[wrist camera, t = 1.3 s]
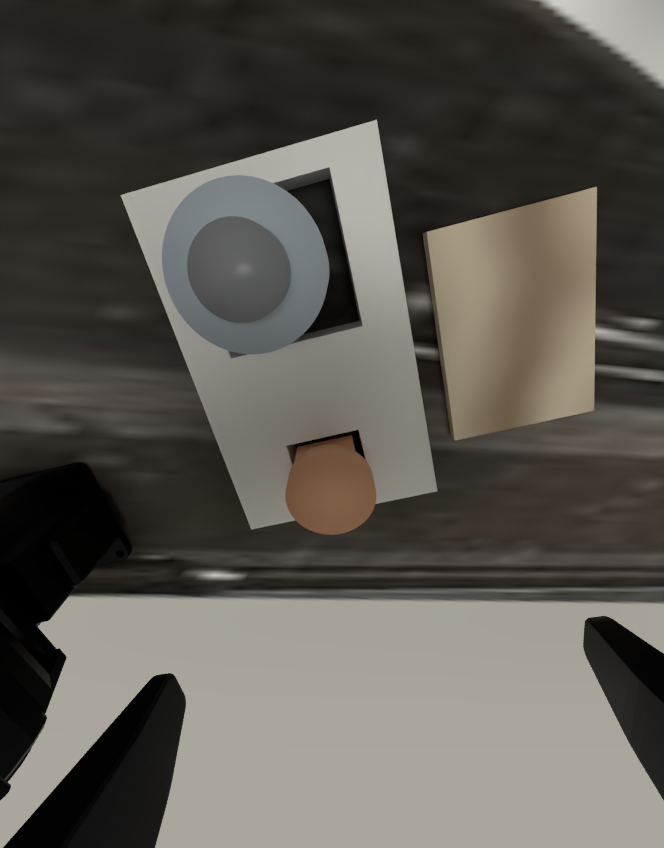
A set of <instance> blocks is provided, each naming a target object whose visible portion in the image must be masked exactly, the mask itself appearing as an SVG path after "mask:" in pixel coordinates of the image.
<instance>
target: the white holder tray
mask: <svg viewBox="0 0 664 848" xmlns="http://www.w3.org/2000/svg"><path fill="white" fill-rule="evenodd" d="M234 175H243V176H253V177H256V178H260V179H264V180H266V181H269V182H271V183H274V184H276V185H277V186H279V187H281V188H283V189H284V190H286V191H288V190H292V189H295V188H299V187H302V186H306V185H309V184H313V183H316V182H320V181H323V180H327V179H330V182H331V187H332V192H333V197H334V201H335V206H336V211H337V216H338V220H339V225H340V230H341V235H342V239H343V244H344V249H345V254H346V258H347V263H348V268H349V273H350V277H351V282H352V287H353V292H354V296H355V301H356V306H357V311H358V315H359V321H355V322H351V323H347V324H343V325H339V326H335V327H331V328H327V329H323V330H319V331H315V332H311V333H307V334H303V335H301V336H300V337H299V338H298V339H297V340H295V341H294V342H292V343H291V344H289V345H287V346H285V347H283V348H281V349H279V350H276V351H272V352H269V353H263V354H240V353H236V352H231V351H228V350H225V349H222V348H220V347H218V346H216V345H214V344H212V343H210V342H208V341H207V340H205V339H204V338H202V337H201V336H200V335H199V334H197V333H196V332H195V331H194V330H193V329H192V328H191V327H190V326H189V325H188V324H187V323H186V322H185V320H184V319H183V318H182V316H181V315H180V314H179V312H178V311H177V309H176V307H175V306H174V304H173V302H172V300H171V297H170V295H169V293H168V290H167V287H166V284H165V280H164V275H163V268H162V246H163V240H164V235H165V232H166V229H167V226H168V223H169V221H170V219H171V217H172V215H173V213H174V211H175V210H176V208H177V207H178V205H179V204H180V203H181V202H182V201H183V199H184V198H185V197H186V196H187V195H188V194H189V193H191V192H192V191H193V190H194V189H196V188H197V187H199V186H201V185H202V184H204V183H206V182H208V181H211V180H214V179H216V178H220V177H225V176H234ZM121 197H122V200H123V202H124V205H125V208H126V210H127V213H128V215H129V218H130V220H131V223H132V225H133V228H134V231H135V233H136V236H137V238H138V241H139V243H140V246H141V249H142V251H143V254H144V256H145V259H146V261H147V264H148V266H149V269H150V272H151V274H152V277H153V279H154V282H155V284H156V287H157V289H158V292H159V295H160V297H161V300H162V302H163V305H164V307H165V310H166V312H167V315H168V318H169V320H170V323H171V325H172V328H173V330H174V333H175V336H176V338H177V341H178V343H179V346H180V348H181V351H182V353H183V356H184V359H185V361H186V364H187V366H188V369H189V371H190V374H191V376H192V379H193V382H194V384H195V387H196V389H197V392H198V394H199V397H200V400H201V402H202V405H203V407H204V410H205V412H206V415H207V417H208V420H209V423H210V425H211V428H212V430H213V433H214V435H215V438H216V440H217V443H218V446H219V448H220V451H221V453H222V456H223V458H224V461H225V463H226V466H227V469H228V471H229V474H230V476H231V479H232V481H233V484H234V487H235V489H236V492H237V494H238V497H239V499H240V502H241V504H242V507H243V510H244V512H245V515H246V517H247V520H248V522H249V525H250V527H251V529H256V528H261V527H266V526H271V525H275V524H280V523H285V522H290V521H295V519H294V518H293V517H292V515H291V514H290V512H289V510H288V507H287V504H286V498H285V493H286V487H287V482H288V477H289V473H290V470H291V467H292V466H293V464H294V461H295V456H296V451H297V450H296V447H295V444H297V443H301V442H306V441H310V440H315V439H319V438H324V437H328V436H333V435H337V434H342V433H346V432H351V431H355V430H359V434H360V438H361V442H362V446H363V451H364V455H365V459H366V461H367V463H368V464H369V466H370V468H371V470H372V473H373V478H374V483H375V488H376V503H375V504H378V503H383V502H387V501H392V500H397V499H402V498H407V497H412V496H417V495H421V494H426V493H431V492H436V491H437V486H436V480H435V474H434V468H433V462H432V455H431V449H430V443H429V437H428V431H427V425H426V419H425V413H424V406H423V400H422V394H421V388H420V382H419V376H418V370H417V364H416V357H415V351H414V345H413V339H412V333H411V327H410V321H409V315H408V308H407V302H406V296H405V290H404V284H403V278H402V272H401V266H400V259H399V253H398V247H397V241H396V235H395V229H394V223H393V217H392V210H391V204H390V198H389V192H388V186H387V180H386V174H385V167H384V161H383V155H382V149H381V143H380V137H379V131H378V125H377V120H375V121H371V122H368V123H364V124H361V125H358V126H354V127H351V128H347V129H344V130H341V131H337V132H334V133H330V134H327V135H324V136H320V137H317V138H313V139H310V140H307V141H303V142H300V143H296V144H293V145H290V146H286V147H283V148H279V149H276V150H273V151H269V152H266V153H262V154H259V155H256V156H252V157H249V158H245V159H242V160H239V161H235V162H232V163H228V164H225V165H222V166H218V167H215V168H211V169H208V170H205V171H201V172H198V173H194V174H191V175H188V176H184V177H181V178H177V179H174V180H171V181H167V182H164V183H160V184H157V185H154V186H150V187H147V188H144V189H140V190H137V191H133V192H130V193H127V194H123V195H121Z"/></svg>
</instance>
